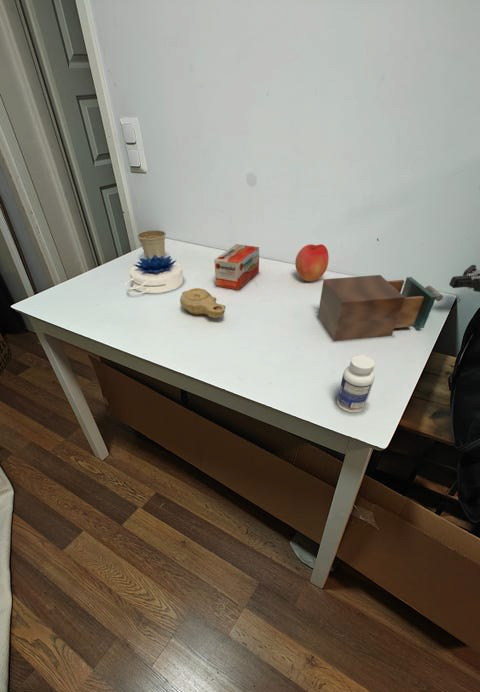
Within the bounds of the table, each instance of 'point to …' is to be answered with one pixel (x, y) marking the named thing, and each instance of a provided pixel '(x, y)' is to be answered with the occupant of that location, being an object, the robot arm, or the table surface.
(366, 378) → the pill bottle
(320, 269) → the apple
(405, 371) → the table surface
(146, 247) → the flower pot
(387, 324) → the cabinet
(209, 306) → the oil lamp
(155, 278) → the lotus flower trinket box
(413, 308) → the drawer
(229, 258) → the medicine box
